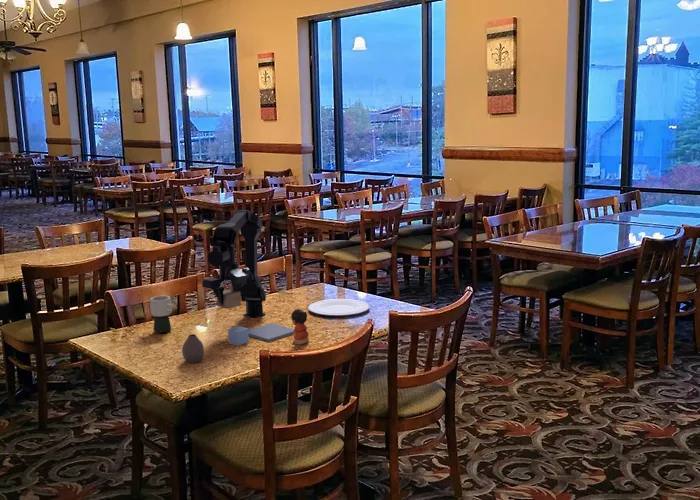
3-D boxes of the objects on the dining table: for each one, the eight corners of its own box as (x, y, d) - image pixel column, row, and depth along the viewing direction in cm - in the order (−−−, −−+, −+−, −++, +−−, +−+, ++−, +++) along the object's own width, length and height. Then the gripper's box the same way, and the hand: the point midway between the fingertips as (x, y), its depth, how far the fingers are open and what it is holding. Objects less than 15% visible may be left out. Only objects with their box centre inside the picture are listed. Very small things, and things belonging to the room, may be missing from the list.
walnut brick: (217, 305, 257) (216, 292, 256) (230, 302, 261) (230, 289, 260) (227, 308, 252) (226, 295, 252) (241, 305, 257) (240, 291, 256)
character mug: (180, 331, 263) (178, 297, 261) (165, 336, 257) (163, 301, 255) (159, 327, 269) (157, 293, 266) (145, 332, 263) (142, 298, 261)
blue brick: (228, 342, 249) (228, 329, 248) (239, 339, 253) (239, 325, 252) (237, 345, 246) (237, 331, 245) (248, 342, 249) (248, 328, 248)
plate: (380, 307, 292) (380, 303, 292) (348, 322, 272) (348, 318, 271) (330, 300, 306) (330, 296, 305) (295, 314, 285) (295, 309, 284)
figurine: (312, 340, 250) (311, 307, 248) (306, 345, 245) (305, 311, 242) (295, 339, 252) (294, 306, 250) (289, 343, 247) (288, 310, 244)
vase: (184, 358, 234) (182, 332, 232) (205, 357, 234) (204, 331, 233) (181, 365, 227) (179, 339, 225) (203, 364, 227) (201, 338, 226)
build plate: (243, 334, 258) (243, 331, 258) (272, 325, 268) (271, 323, 268) (268, 341, 249) (268, 339, 249) (297, 332, 259) (297, 330, 259)
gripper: (219, 268, 241) (221, 312, 244) (261, 259, 255) (263, 301, 258) (200, 263, 249) (202, 306, 252) (242, 255, 262) (244, 296, 265)
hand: (229, 302), depth 256 cm, fingers closed on walnut brick, 6 cm apart
